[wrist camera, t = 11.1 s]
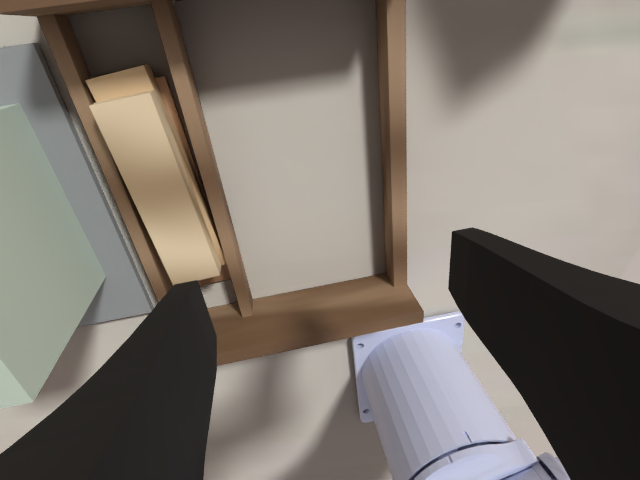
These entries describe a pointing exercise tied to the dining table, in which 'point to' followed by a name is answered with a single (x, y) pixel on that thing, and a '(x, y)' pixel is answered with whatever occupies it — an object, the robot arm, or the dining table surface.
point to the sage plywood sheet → (37, 263)
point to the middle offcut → (145, 81)
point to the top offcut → (158, 184)
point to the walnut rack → (247, 314)
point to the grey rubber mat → (74, 181)
